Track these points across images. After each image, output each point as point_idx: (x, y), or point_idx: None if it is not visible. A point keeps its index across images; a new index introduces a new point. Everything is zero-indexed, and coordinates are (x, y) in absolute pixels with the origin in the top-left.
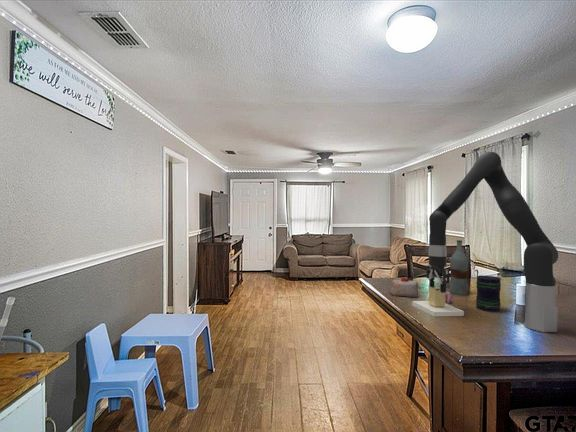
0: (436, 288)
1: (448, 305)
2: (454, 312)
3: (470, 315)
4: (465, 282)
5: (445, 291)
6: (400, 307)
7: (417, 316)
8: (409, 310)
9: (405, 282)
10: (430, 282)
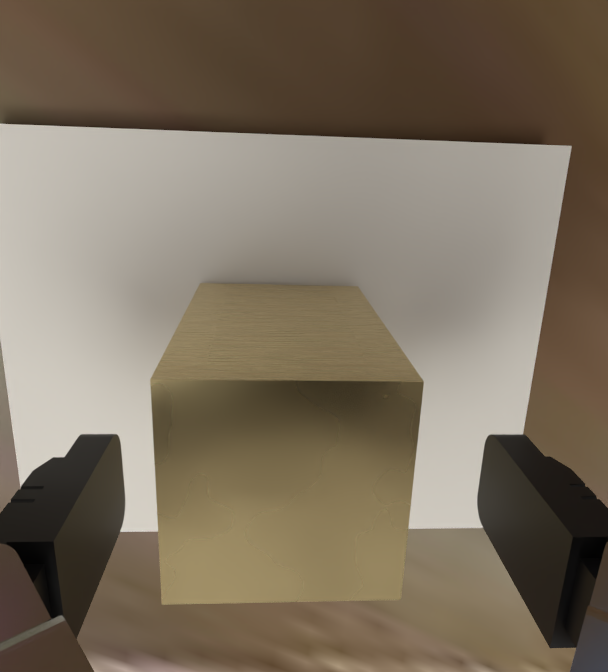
0: (375, 560)
1: (269, 166)
2: (542, 282)
3: (547, 34)
4: None
5: (552, 463)
6: (134, 646)
7: (447, 629)
8: (250, 612)
9: None
10: (80, 612)
